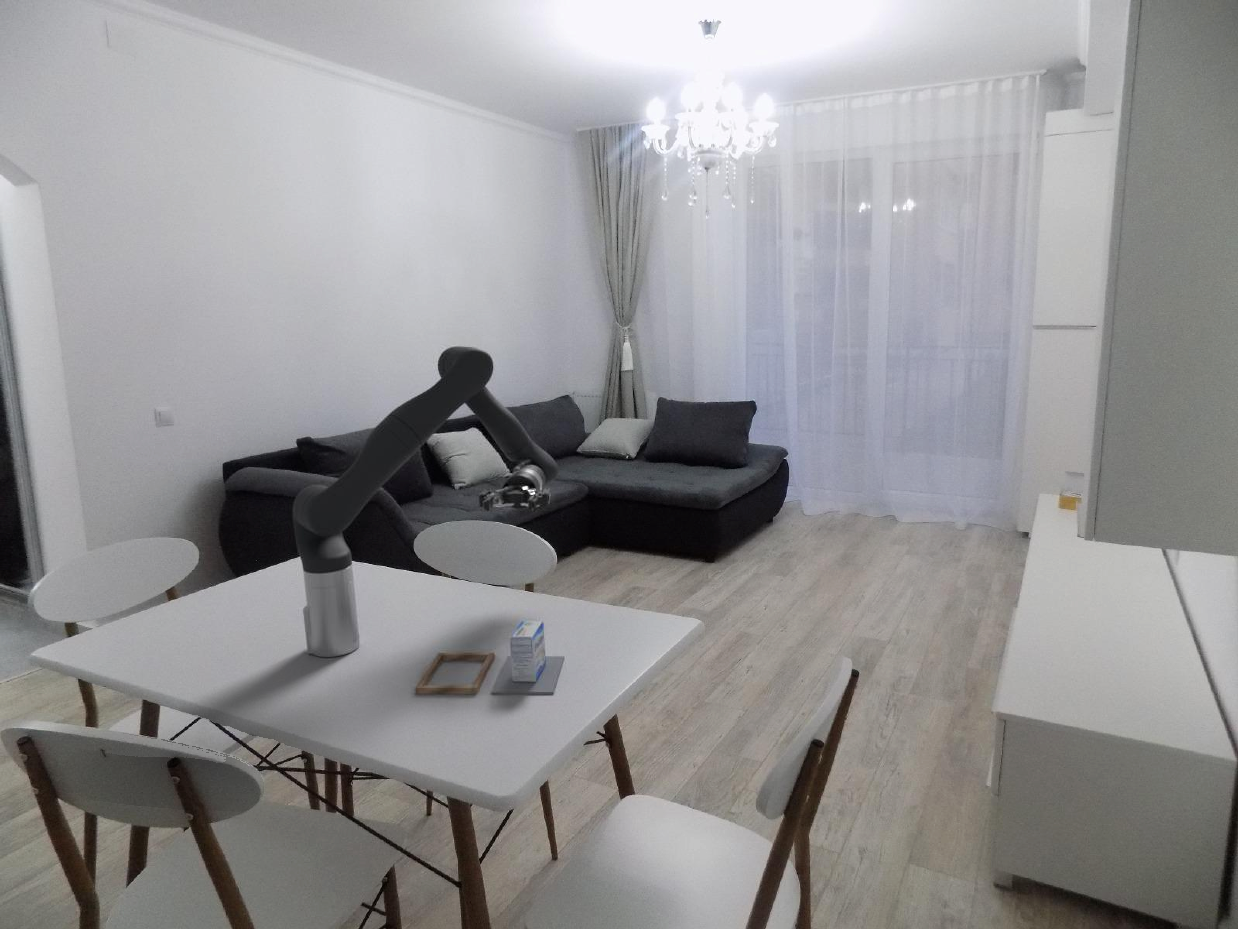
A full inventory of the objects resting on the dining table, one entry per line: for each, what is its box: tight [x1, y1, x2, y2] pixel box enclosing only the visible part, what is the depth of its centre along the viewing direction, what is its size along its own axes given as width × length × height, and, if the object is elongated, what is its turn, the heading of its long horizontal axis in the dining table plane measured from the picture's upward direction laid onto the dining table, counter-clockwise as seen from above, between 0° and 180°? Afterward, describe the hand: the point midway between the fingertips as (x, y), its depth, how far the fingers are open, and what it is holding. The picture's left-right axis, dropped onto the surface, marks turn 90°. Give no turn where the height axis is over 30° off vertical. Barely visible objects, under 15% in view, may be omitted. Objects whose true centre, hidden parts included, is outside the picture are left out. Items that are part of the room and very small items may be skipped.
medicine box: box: [509, 620, 547, 682], centre depth 151 cm, size 8×4×9 cm, turn 171°
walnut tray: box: [414, 652, 496, 695], centre depth 152 cm, size 11×15×1 cm
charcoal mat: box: [490, 655, 565, 695], centre depth 152 cm, size 11×15×1 cm
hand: (508, 505), depth 163 cm, fingers open, 8 cm apart
